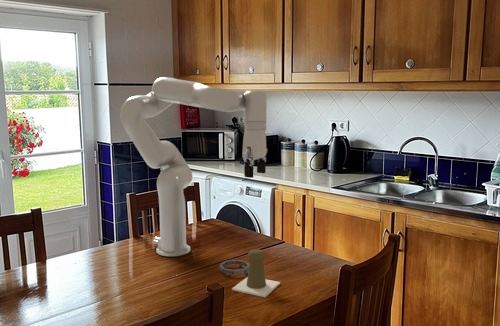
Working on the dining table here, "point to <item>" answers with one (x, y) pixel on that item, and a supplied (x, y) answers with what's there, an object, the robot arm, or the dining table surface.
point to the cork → (256, 269)
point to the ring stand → (229, 271)
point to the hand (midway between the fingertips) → (255, 175)
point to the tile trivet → (258, 292)
